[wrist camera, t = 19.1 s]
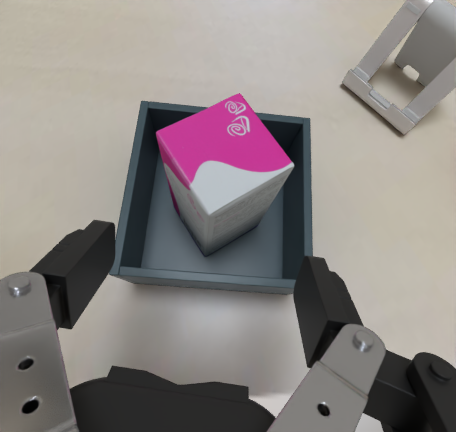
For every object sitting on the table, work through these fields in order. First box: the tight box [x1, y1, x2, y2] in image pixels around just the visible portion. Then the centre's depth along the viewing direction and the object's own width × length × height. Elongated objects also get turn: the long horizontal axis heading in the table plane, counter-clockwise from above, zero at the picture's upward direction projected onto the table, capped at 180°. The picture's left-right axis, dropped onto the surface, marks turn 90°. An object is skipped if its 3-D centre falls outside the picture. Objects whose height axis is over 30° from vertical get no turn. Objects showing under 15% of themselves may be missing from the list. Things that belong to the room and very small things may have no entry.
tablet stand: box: [342, 0, 456, 135], centre depth 29 cm, size 9×8×8 cm
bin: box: [109, 101, 313, 295], centre depth 24 cm, size 13×13×6 cm
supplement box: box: [156, 93, 294, 257], centre depth 21 cm, size 6×6×12 cm
